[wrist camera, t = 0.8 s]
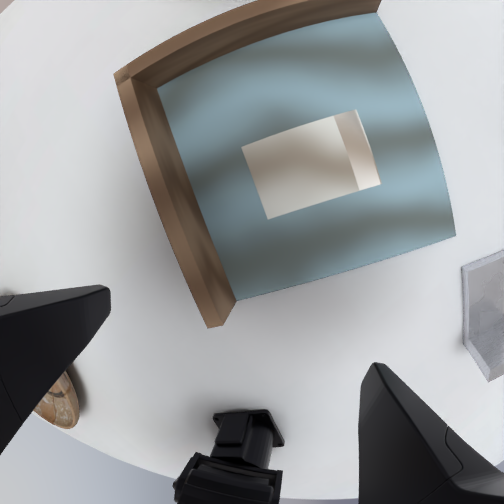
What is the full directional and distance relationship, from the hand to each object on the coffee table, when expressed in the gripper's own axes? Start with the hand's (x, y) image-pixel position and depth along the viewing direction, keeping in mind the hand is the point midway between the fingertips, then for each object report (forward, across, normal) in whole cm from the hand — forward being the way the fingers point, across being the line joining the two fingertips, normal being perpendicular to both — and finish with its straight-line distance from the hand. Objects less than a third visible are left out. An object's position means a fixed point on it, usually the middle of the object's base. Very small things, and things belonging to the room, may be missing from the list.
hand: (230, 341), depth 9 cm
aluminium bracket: (+14, -20, 0) cm, 24 cm away
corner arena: (+13, -1, -7) cm, 15 cm away
